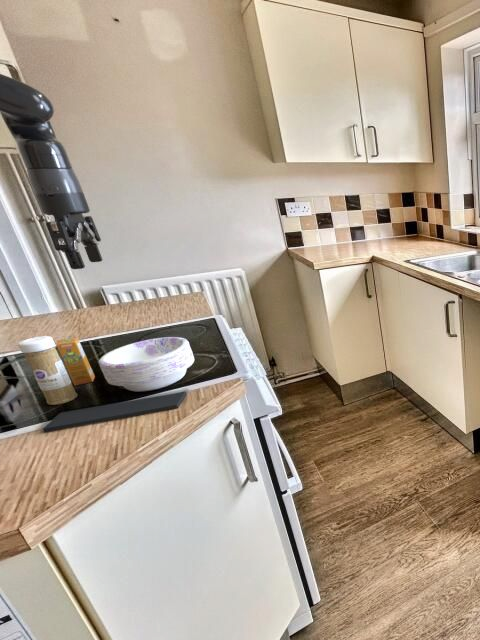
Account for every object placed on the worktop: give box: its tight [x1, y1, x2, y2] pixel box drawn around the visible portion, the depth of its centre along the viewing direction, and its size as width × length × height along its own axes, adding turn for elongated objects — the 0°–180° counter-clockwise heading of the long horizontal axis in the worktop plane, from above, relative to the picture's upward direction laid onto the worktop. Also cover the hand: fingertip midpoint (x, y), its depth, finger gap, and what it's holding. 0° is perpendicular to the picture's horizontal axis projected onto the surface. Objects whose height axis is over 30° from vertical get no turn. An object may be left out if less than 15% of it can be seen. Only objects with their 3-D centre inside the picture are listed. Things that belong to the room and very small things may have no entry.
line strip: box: [42, 391, 187, 433], centre depth 81 cm, size 20×6×1 cm, turn 113°
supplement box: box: [55, 336, 96, 387], centre depth 92 cm, size 3×3×10 cm
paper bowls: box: [98, 336, 195, 393], centre depth 92 cm, size 15×15×8 cm
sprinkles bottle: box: [17, 335, 79, 406], centre depth 84 cm, size 5×5×14 cm
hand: (87, 265), depth 98 cm, fingers open, 8 cm apart
